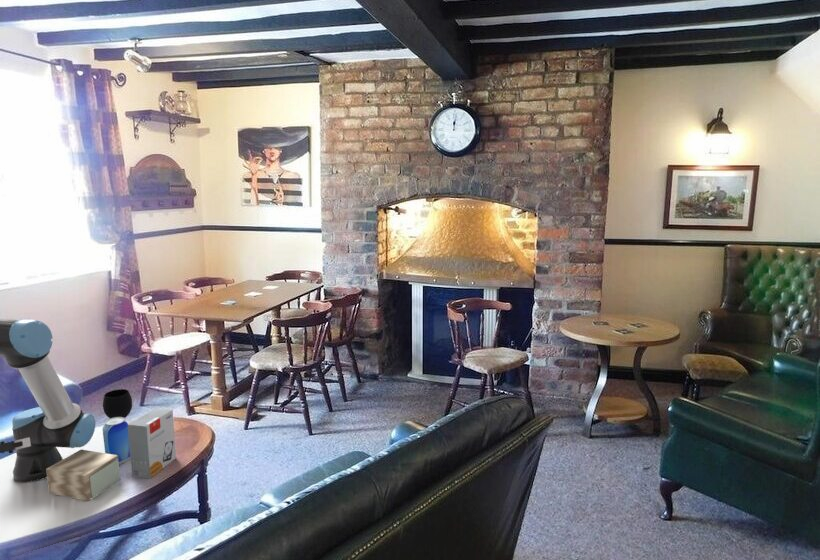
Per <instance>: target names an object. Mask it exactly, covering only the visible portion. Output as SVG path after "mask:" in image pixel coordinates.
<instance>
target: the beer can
mask: <svg viewBox="0 0 820 560" xmlns="http://www.w3.org/2000/svg"><path fill="white" fill-rule="evenodd" d="M125 419H126V418H123V417H115V418H111V419H110V418H108V419H107V420H105V422H104V425H103V427H102V439H103V444H104V453H107V454H113V455H118V458H117V459H118V461H119V465H122V464H124V463H127V462H128V461H129V459H130V448H129V436H128V424H129V423H128V421H126V420H125Z"/></svg>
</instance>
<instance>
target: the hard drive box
mask: <svg viewBox="0 0 820 560" xmlns="http://www.w3.org/2000/svg"><path fill="white" fill-rule="evenodd" d="M174 423H175V422H174V409H171V408H160V407H155V408H153V409H152V410H150V411H149V412H147V413H145V414H143V415H142V416H140V417H138V418H137V419H135V420H133V421H132V422H130V423H128V436H129V448H130V458H129V459H130V470H131V471H130V473H131V477H134V478H135V477H136V478H142V479H151V478H152V477H154V476H155V475H157V474H158V473H159V472H160V471H161V470H163V469H164V468H165V467H166V466H168V465H169V464H171V463H172V462H173V461H174V460H175V459H177V455H176V454H177V453H176V439H175V438H176V437H175V426H174V425H175V424H174Z"/></svg>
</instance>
